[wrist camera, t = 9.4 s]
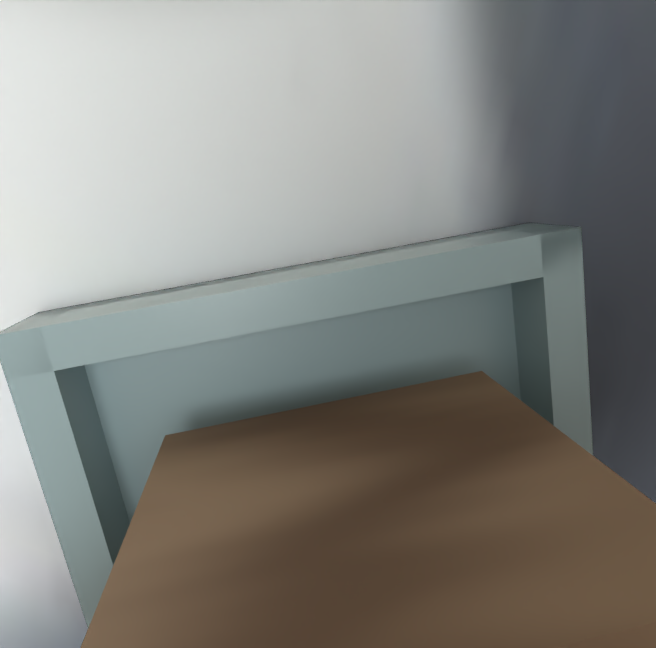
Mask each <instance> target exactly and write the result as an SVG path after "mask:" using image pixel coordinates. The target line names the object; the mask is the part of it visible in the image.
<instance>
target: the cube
mask: <svg viewBox="0 0 656 648" xmlns="http://www.w3.org/2000/svg"><path fill="white" fill-rule="evenodd" d="M81 648H656V503H654V502H653V501H652V500H650V499H649V498H648V497H647V496H645V495H644V494H643V493H641V492H640V491H639V490H637V489H636V488H635V487H633V486H632V485H631V484H630V483H628V482H627V481H626V480H624V479H623V478H622V477H620V476H619V475H618V474H616V473H615V472H614V471H612V470H611V469H610V468H609V467H607V466H606V465H605V464H603V463H602V462H601V461H599V460H598V459H597V458H595V457H594V456H593V455H591V454H590V453H589V452H588V451H586V450H585V449H584V448H582V447H581V446H580V445H578V444H577V443H576V442H574V441H573V440H572V439H571V438H569V437H568V436H567V435H565V434H564V433H563V432H561V431H560V430H559V429H557V428H556V427H555V426H553V425H552V424H551V423H550V422H548V421H547V420H546V419H544V418H543V417H542V416H540V415H539V414H538V413H536V412H535V411H534V410H533V409H531V408H530V407H529V406H527V405H526V404H525V403H523V402H522V401H521V400H519V399H518V398H517V397H515V396H514V395H513V394H512V393H510V392H509V391H508V390H506V389H505V388H504V387H502V386H501V385H500V384H498V383H497V382H496V381H495V380H493V379H492V378H491V377H489V376H488V375H487V374H485V373H484V372H483V371H479V372H474V373H469V374H464V375H459V376H454V377H449V378H444V379H439V380H434V381H429V382H425V383H420V384H415V385H410V386H405V387H400V388H395V389H390V390H385V391H380V392H375V393H371V394H366V395H361V396H356V397H351V398H346V399H341V400H336V401H331V402H326V403H321V404H317V405H312V406H307V407H302V408H297V409H292V410H287V411H282V412H277V413H272V414H267V415H262V416H258V417H253V418H248V419H243V420H238V421H233V422H228V423H223V424H218V425H213V426H208V427H204V428H199V429H194V430H189V431H184V432H179V433H174V434H169V435H165V437H164V439H163V442H162V444H161V447H160V449H159V452H158V454H157V457H156V459H155V462H154V465H153V467H152V470H151V472H150V475H149V477H148V480H147V482H146V485H145V487H144V490H143V492H142V495H141V497H140V500H139V502H138V505H137V507H136V510H135V512H134V515H133V517H132V520H131V522H130V525H129V527H128V530H127V532H126V535H125V537H124V540H123V542H122V545H121V547H120V550H119V552H118V555H117V557H116V560H115V563H114V565H113V568H112V570H111V573H110V575H109V578H108V580H107V583H106V585H105V588H104V590H103V593H102V595H101V598H100V600H99V603H98V605H97V608H96V610H95V613H94V615H93V618H92V620H91V623H90V625H89V628H88V630H87V633H86V635H85V638H84V640H83V643H82V645H81Z"/></svg>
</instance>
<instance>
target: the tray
mask: <svg viewBox="0 0 656 648" xmlns="http://www.w3.org/2000/svg"><path fill="white" fill-rule="evenodd" d="M0 362H1V365H2V368H3V371H4V374H5V377H6V380H7V383H8V386H9V389H10V392H11V395H12V398H13V401H14V405H15V408H16V411H17V414H18V417H19V420H20V423H21V426H22V429H23V432H24V435H25V438H26V441H27V444H28V447H29V450H30V453H31V456H32V459H33V462H34V465H35V468H36V471H37V474H38V478H39V481H40V484H41V487H42V490H43V493H44V496H45V499H46V502H47V505H48V508H49V511H50V514H51V517H52V520H53V523H54V526H55V529H56V532H57V535H58V538H59V541H60V544H61V547H62V550H63V554H64V557H65V560H66V563H67V566H68V569H69V572H70V575H71V578H72V581H73V584H74V587H75V590H76V593H77V596H78V599H79V602H80V605H81V608H82V611H83V614H84V617H85V620H86V623H87V627H88V628H89V625H90V623H91V620H92V618H93V615H94V613H95V610H96V608H97V605H98V603H99V600H100V598H101V595H102V593H103V590H104V588H105V585H106V583H107V580H108V578H109V575H110V573H111V570H112V568H113V565H114V563H115V560H116V557H117V555H118V552H119V550H120V547H121V545H122V542H123V540H124V537H125V535H126V532H127V530H128V527H129V525H130V522H131V520H132V517H133V515H134V512H135V510H136V507H137V505H138V502H139V500H140V497H141V495H142V492H143V490H144V487H145V485H146V482H147V480H148V477H149V475H150V472H151V470H152V467H153V465H154V462H155V459H156V457H157V454H158V452H159V449H160V447H161V444H162V442H163V439H164V437H165V435H169V434H174V433H179V432H184V431H189V430H194V429H199V428H204V427H208V426H213V425H218V424H223V423H228V422H233V421H238V420H243V419H248V418H253V417H258V416H262V415H267V414H272V413H277V412H282V411H287V410H292V409H297V408H302V407H307V406H312V405H317V404H321V403H326V402H331V401H336V400H341V399H346V398H351V397H356V396H361V395H366V394H371V393H375V392H380V391H385V390H390V389H395V388H400V387H405V386H410V385H415V384H420V383H425V382H429V381H434V380H439V379H444V378H449V377H454V376H459V375H464V374H469V373H474V372H479V371H483V372H484V373H485V374H487V375H488V376H489V377H491V378H492V379H493V380H495V381H496V382H497V383H498V384H500V385H501V386H502V387H504V388H505V389H506V390H508V391H509V392H510V393H512V394H513V395H514V396H515V397H517V398H518V399H519V400H521V401H522V402H523V403H525V404H526V405H527V406H529V407H530V408H531V409H533V410H534V411H535V412H536V413H538V414H539V415H540V416H542V417H543V418H544V419H546V420H547V421H548V422H550V423H551V424H552V425H553V426H555V427H556V428H557V429H559V430H560V431H561V432H563V433H564V434H565V435H567V436H568V437H569V438H571V439H572V440H573V441H574V442H576V443H577V444H578V445H580V446H581V447H582V448H584V449H585V450H586V451H588V452H589V453H590V454H591V455H593V445H592V426H591V406H590V387H589V368H588V348H587V329H586V310H585V291H584V271H583V252H582V233H581V227H576V226H563V225H550V224H538V223H525V224H519V225H514V226H508V227H503V228H498V229H492V230H487V231H481V232H476V233H470V234H465V235H459V236H454V237H448V238H443V239H437V240H432V241H426V242H421V243H415V244H410V245H404V246H399V247H394V248H388V249H383V250H377V251H372V252H366V253H361V254H355V255H350V256H344V257H339V258H333V259H328V260H322V261H317V262H311V263H306V264H300V265H295V266H289V267H284V268H279V269H273V270H268V271H262V272H257V273H251V274H246V275H240V276H235V277H229V278H224V279H218V280H213V281H207V282H202V283H196V284H191V285H185V286H180V287H175V288H169V289H164V290H158V291H153V292H147V293H142V294H136V295H131V296H125V297H120V298H114V299H109V300H103V301H98V302H92V303H87V304H81V305H76V306H70V307H65V308H60V309H54V310H49V311H43V312H38V313H36V314H34V315H32V316H30V317H28V318H26V319H24V320H22V321H20V322H18V323H16V324H14V325H13V326H11V327H9V328H7V329H5V330H3V331H1V332H0Z"/></svg>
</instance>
